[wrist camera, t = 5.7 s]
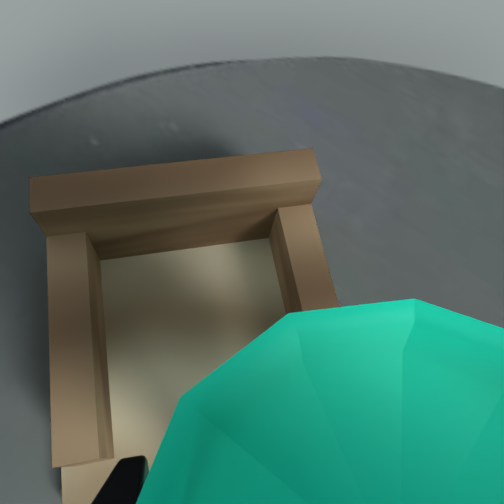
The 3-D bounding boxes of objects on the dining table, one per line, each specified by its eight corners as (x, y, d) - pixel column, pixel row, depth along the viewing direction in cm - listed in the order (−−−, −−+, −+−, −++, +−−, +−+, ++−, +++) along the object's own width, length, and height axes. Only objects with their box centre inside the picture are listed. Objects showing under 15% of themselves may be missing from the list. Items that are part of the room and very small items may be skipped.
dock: (356, 447, 20) (413, 443, 15) (69, 509, 18) (13, 531, 13) (295, 207, 25) (321, 136, 19) (59, 236, 23) (14, 167, 18)
